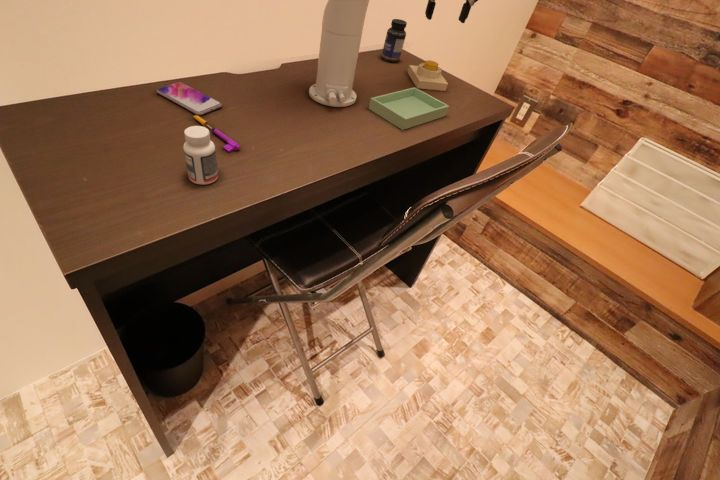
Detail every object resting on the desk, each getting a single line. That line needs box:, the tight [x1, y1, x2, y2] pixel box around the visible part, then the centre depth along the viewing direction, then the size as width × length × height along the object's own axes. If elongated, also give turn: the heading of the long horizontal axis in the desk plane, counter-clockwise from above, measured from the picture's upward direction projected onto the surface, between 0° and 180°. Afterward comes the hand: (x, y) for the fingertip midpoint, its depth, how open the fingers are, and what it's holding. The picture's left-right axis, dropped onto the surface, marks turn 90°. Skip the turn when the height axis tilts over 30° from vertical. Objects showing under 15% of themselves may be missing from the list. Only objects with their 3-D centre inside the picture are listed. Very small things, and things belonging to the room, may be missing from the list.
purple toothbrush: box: [193, 114, 241, 153], centre depth 76 cm, size 3×1×16 cm
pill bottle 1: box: [182, 125, 219, 186], centre depth 63 cm, size 5×5×9 cm
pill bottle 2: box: [381, 18, 408, 63], centre depth 117 cm, size 6×6×11 cm
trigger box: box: [406, 62, 449, 92], centre depth 110 cm, size 12×9×4 cm
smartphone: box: [156, 81, 223, 116], centre depth 85 cm, size 7×1×15 cm
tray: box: [368, 86, 450, 131], centre depth 94 cm, size 17×12×3 cm
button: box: [423, 60, 439, 71], centre depth 108 cm, size 4×4×2 cm
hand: (444, 20), depth 100 cm, fingers open, 9 cm apart
